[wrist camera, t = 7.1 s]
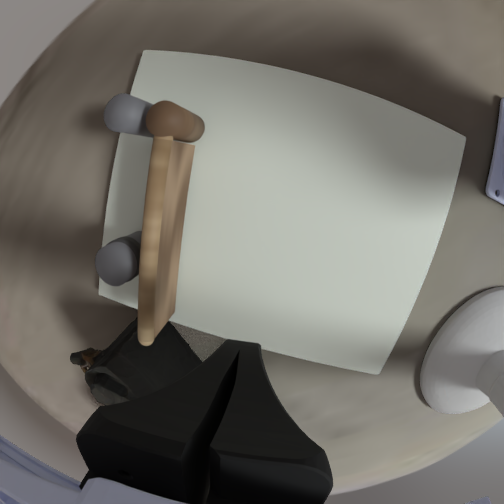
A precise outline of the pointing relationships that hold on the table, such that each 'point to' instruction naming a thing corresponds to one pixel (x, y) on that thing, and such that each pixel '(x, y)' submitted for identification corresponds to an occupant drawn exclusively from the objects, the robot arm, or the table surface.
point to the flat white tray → (285, 207)
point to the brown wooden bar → (164, 213)
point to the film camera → (136, 365)
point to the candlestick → (467, 357)
